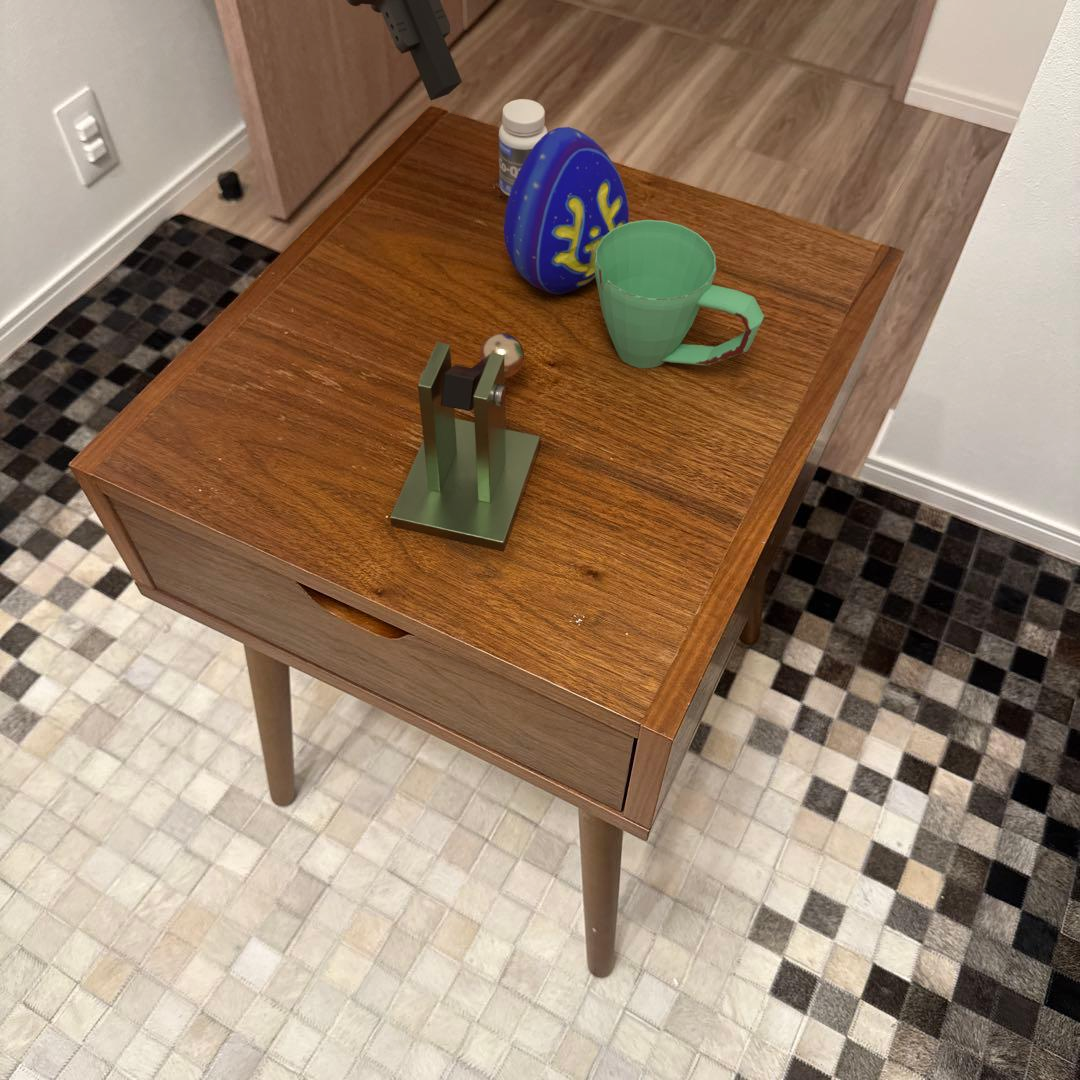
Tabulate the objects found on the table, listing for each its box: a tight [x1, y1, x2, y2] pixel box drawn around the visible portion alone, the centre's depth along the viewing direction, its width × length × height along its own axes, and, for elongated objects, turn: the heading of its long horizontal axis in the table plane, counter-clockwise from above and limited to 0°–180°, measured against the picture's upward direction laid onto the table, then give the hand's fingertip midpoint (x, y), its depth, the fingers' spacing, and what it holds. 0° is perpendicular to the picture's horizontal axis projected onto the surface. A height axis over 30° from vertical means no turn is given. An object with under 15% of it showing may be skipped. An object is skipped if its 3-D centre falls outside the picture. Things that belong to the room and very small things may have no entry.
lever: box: [441, 332, 525, 412], centre depth 82 cm, size 15×4×4 cm
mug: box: [595, 219, 765, 369], centre depth 90 cm, size 15×10×10 cm
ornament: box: [503, 126, 630, 295], centre depth 94 cm, size 11×9×15 cm
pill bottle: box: [498, 98, 549, 197], centre depth 104 cm, size 5×5×8 cm
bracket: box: [389, 341, 541, 552], centre depth 80 cm, size 11×9×13 cm
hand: (446, 91), depth 75 cm, fingers closed
